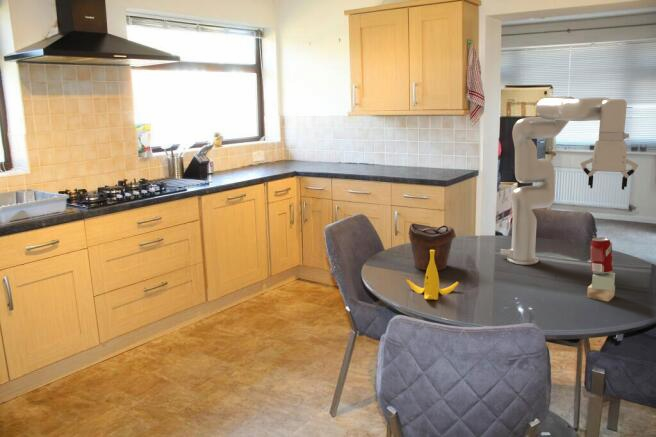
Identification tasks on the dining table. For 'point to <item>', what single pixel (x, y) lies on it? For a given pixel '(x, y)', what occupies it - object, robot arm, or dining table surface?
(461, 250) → the dining table surface
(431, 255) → the banana peel
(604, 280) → the sage block
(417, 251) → the brown flower pot
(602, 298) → the oak base block
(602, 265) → the soda can
